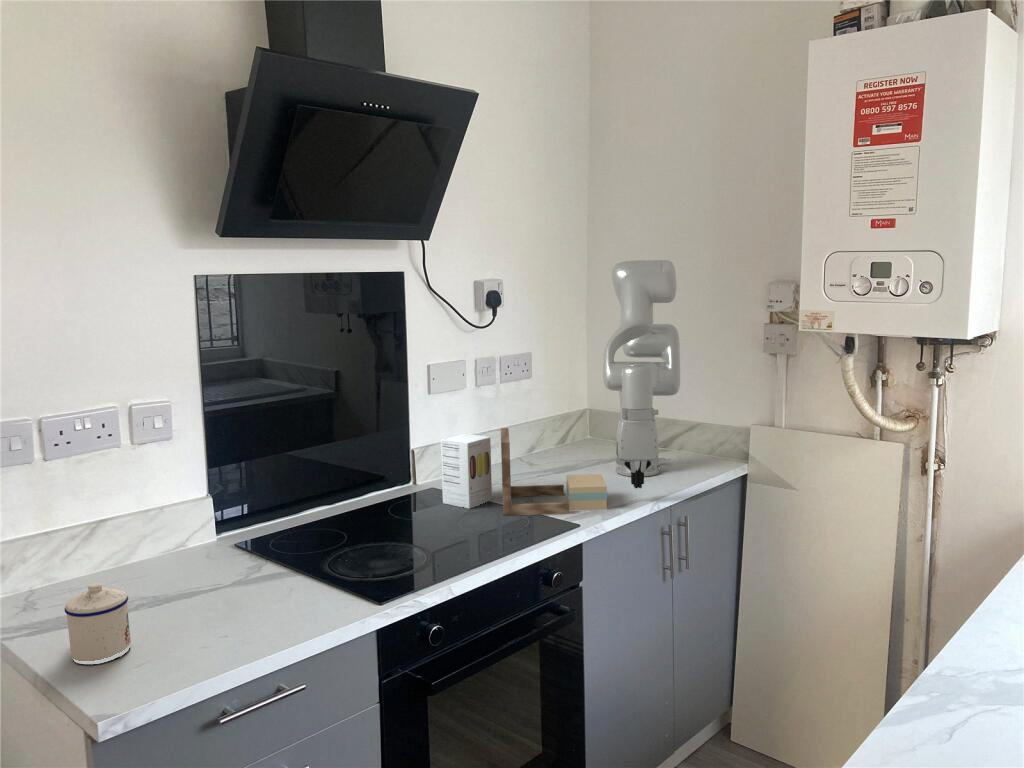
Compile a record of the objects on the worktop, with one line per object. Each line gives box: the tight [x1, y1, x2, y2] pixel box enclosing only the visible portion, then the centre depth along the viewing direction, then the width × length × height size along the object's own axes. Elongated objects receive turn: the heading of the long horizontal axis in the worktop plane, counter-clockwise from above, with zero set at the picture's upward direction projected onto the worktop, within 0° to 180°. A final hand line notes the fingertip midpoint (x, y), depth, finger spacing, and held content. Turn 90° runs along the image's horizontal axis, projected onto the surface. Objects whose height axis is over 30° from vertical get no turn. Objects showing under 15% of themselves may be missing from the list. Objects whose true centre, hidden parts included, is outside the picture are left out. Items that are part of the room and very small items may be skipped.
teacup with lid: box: [64, 582, 132, 661], centre depth 133 cm, size 12×9×12 cm
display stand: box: [500, 427, 571, 517], centre depth 208 cm, size 16×17×18 cm
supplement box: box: [440, 433, 493, 510], centre depth 211 cm, size 10×9×17 cm
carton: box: [565, 473, 608, 511], centre depth 209 cm, size 9×12×6 cm
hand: (637, 487), depth 208 cm, fingers closed
